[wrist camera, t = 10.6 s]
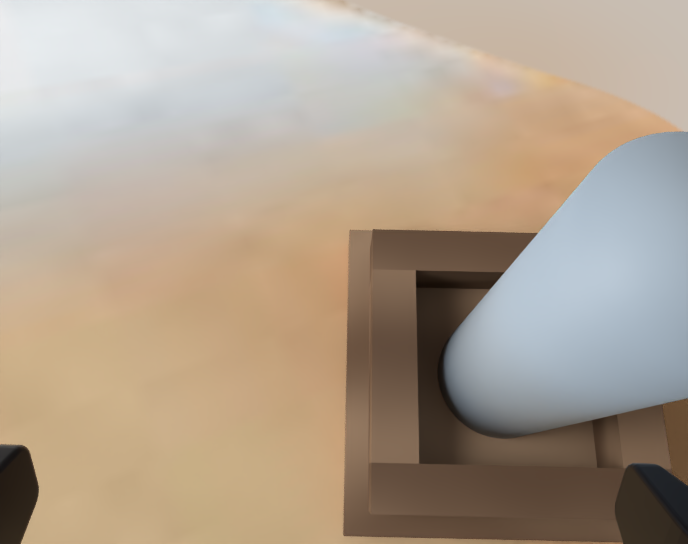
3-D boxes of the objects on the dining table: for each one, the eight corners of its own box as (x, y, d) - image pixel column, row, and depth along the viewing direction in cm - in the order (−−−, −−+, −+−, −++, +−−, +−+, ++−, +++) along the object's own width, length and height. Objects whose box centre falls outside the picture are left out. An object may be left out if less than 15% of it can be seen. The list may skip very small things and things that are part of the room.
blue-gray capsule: (565, 439, 21) (875, 386, 9) (440, 437, 21) (588, 381, 9) (552, 317, 22) (805, 135, 11) (435, 315, 22) (557, 128, 10)
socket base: (652, 538, 21) (709, 550, 18) (343, 532, 21) (344, 542, 18) (613, 250, 25) (655, 215, 21) (349, 244, 25) (350, 208, 21)
